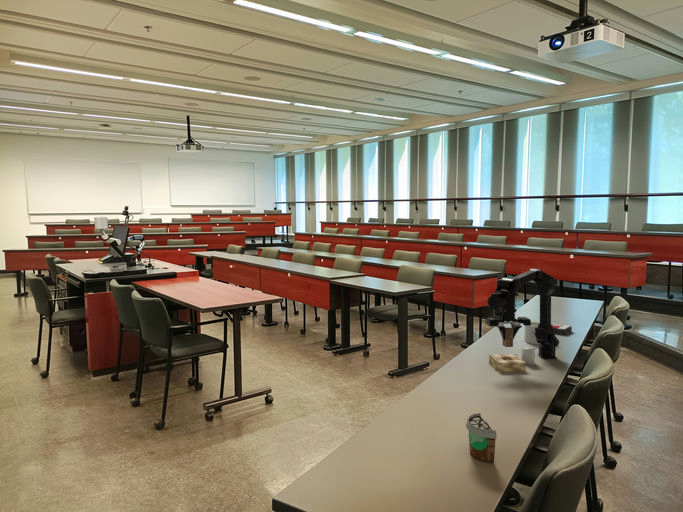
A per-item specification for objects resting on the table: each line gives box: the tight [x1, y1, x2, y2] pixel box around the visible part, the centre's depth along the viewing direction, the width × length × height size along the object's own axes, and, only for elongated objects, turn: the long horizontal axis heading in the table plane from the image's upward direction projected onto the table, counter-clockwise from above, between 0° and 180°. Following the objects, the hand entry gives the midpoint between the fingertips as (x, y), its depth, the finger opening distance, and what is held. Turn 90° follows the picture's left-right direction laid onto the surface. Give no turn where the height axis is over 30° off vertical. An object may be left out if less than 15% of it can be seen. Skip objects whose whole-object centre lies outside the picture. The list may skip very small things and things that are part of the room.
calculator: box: [551, 322, 573, 336], centre depth 269 cm, size 11×4×15 cm
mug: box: [523, 321, 540, 345], centre depth 247 cm, size 14×11×10 cm
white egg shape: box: [521, 346, 536, 366], centre depth 214 cm, size 6×6×7 cm
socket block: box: [488, 353, 527, 373], centre depth 209 cm, size 12×12×4 cm
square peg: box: [502, 327, 514, 348], centre depth 207 cm, size 3×3×8 cm
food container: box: [465, 412, 498, 464], centre depth 134 cm, size 12×6×10 cm, turn 5°
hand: (507, 340), depth 208 cm, fingers closed on square peg, 3 cm apart
